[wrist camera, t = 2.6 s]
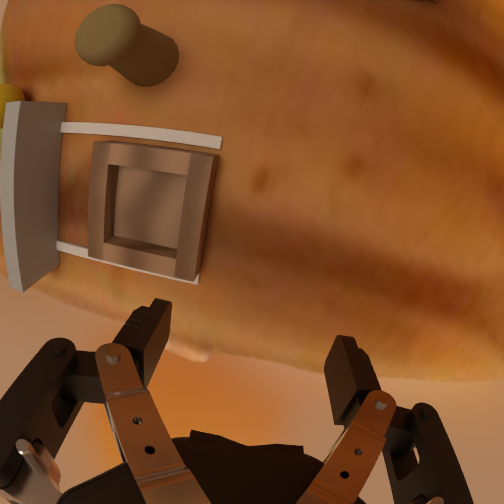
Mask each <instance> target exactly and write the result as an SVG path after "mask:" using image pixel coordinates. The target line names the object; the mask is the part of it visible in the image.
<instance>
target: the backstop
mask: <svg viewBox="0 0 504 504" xmlns="http://www.w3.org/2000/svg"><path fill="white" fill-rule="evenodd" d="M66 107H67V103H54V102H37V101H15V102H7V103H6V108H5V116H4V124H3V134H2V146H1V165H0V202H1V222H2V234H3V244H4V253H5V260H6V267H7V273H8V279H9V285H10V287H11V288H14V289H16V290H18V291H20V292H24V291H26V290H27V289H28V288H30V287H31V286H32V285H33V284H35V283H36V282H37V281H39V280H40V279H41V278H42V277H44V276H45V275H46V274H48V273H49V272H50V271H52V270H53V269H54V268H56V267H57V266H58V265H60V256H59V251H62V252H66V253H69V254H73V255H77V256H81V257H84V258H88V259H92V260H96V261H100V262H103V263H107V264H111V265H115V266H119V267H123V268H127V269H131V270H135V271H140V272H144V273H148V274H152V275H156V276H161V277H165V278H169V279H174V280H178V281H182V282H187V283H191V284H196V285H198V283H199V276H200V273H198V274H197V276H196V279H195V281H194V282H192V281H187V280H183V279H178V278H174V277H170V276H165V275H161V274H157V273H152V272H148V271H144V270H140V269H136V268H131V267H127V266H123V265H119V264H115V263H111V262H107V261H103V260H99V259H96V258H92V257H88V247H85V246H81V245H77V244H73V243H69V242H65V241H61V240H59V236H58V189H59V169H60V155H61V145H62V136H63V132H64V133H85V134H101V135H114V136H125V137H135V138H145V139H153V140H162V141H169V142H177V143H184V144H191V145H197V146H204V147H210V148H216V149H221V144H222V138H223V137H221V136H214V135H208V134H201V133H195V132H187V131H180V130H172V129H163V128H154V127H144V126H133V125H121V124H105V123H83V122H64V120H65V113H66Z"/></svg>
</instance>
